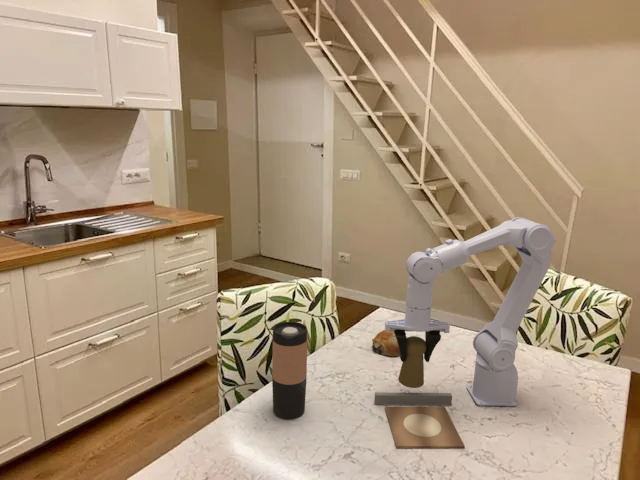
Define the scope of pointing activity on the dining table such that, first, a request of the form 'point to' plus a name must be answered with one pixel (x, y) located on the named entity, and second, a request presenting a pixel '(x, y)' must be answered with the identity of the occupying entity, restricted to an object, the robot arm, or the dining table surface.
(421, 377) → the cork
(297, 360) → the travel mug
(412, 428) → the walnut board
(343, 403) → the dining table surface
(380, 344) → the bread roll
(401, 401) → the low wall
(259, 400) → the dining table surface
